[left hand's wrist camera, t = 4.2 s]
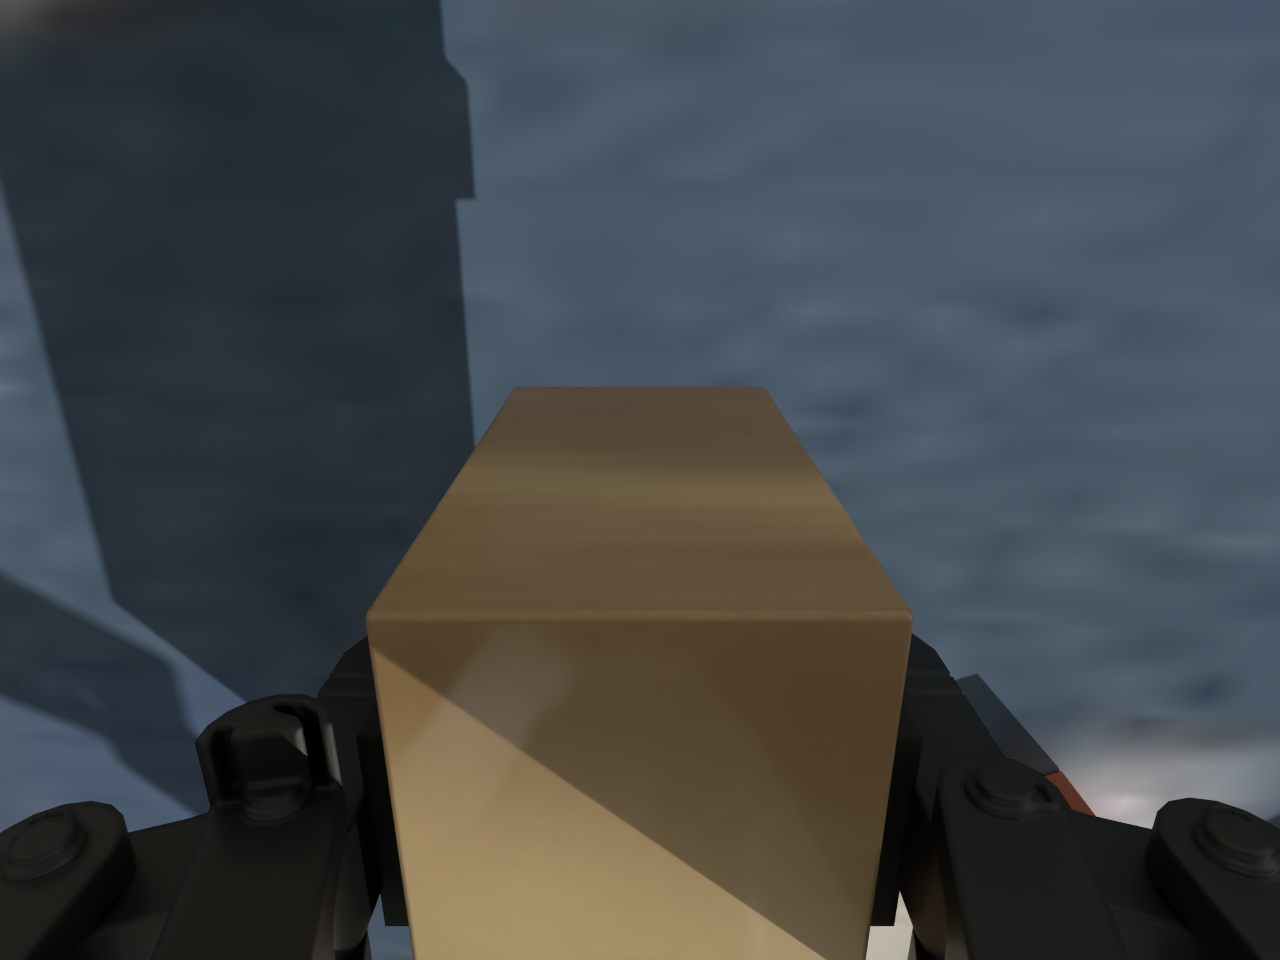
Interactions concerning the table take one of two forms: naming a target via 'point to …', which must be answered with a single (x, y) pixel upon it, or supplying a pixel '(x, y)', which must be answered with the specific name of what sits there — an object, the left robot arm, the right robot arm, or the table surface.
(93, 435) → the table surface
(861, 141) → the table surface
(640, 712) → the birch beam
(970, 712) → the left robot arm
